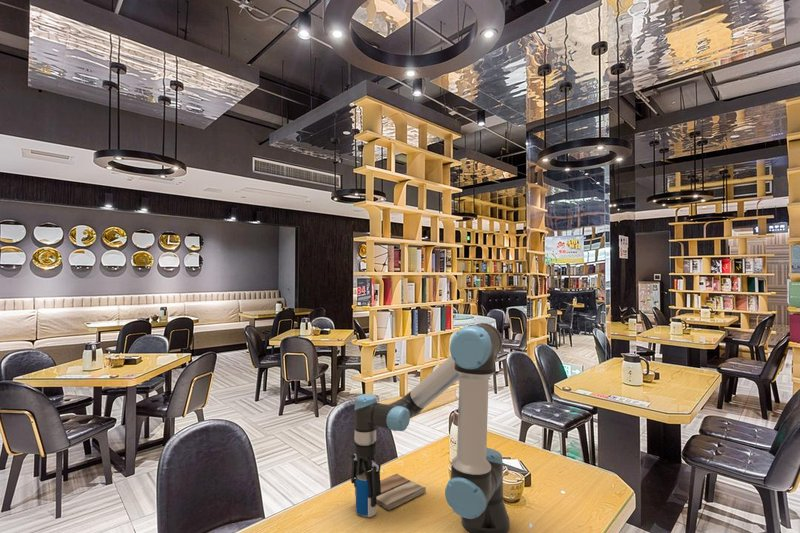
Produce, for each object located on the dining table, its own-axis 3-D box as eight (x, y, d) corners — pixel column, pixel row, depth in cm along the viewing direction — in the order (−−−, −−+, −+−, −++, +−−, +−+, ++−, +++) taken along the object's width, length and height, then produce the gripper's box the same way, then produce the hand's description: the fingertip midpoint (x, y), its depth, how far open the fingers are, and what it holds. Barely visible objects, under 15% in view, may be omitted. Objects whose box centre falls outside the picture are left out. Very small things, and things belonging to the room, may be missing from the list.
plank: (426, 492, 145) (425, 487, 145) (388, 510, 133) (388, 505, 133) (411, 485, 150) (411, 480, 151) (374, 502, 139) (374, 497, 139)
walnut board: (410, 485, 151) (410, 480, 151) (373, 501, 139) (373, 497, 139) (396, 477, 157) (396, 473, 157) (360, 493, 145) (360, 488, 145)
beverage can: (372, 518, 129) (372, 481, 129) (353, 516, 130) (353, 479, 131) (377, 508, 135) (377, 472, 136) (359, 506, 136) (359, 470, 137)
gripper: (392, 446, 129) (392, 519, 128) (358, 431, 144) (357, 495, 142) (374, 453, 124) (374, 528, 123) (340, 436, 139) (340, 503, 137)
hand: (365, 510), depth 133 cm, fingers closed on beverage can, 6 cm apart
